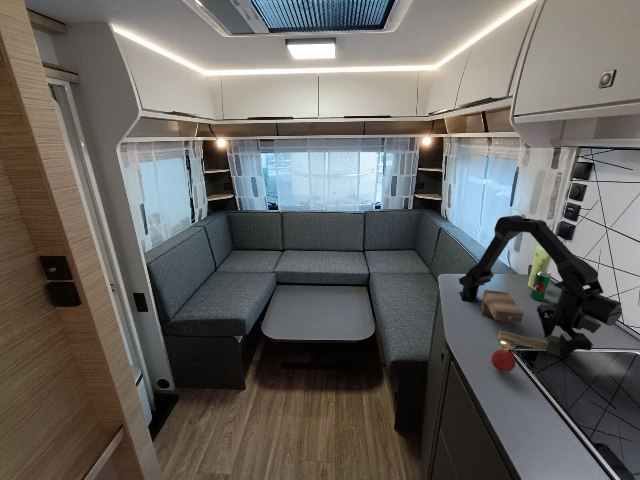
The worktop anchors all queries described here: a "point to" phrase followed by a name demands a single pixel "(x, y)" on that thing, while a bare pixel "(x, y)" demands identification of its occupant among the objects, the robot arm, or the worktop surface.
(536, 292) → the soda can
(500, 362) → the onion
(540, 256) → the tube
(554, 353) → the wooden mallet
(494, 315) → the walnut cabinet
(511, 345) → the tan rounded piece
